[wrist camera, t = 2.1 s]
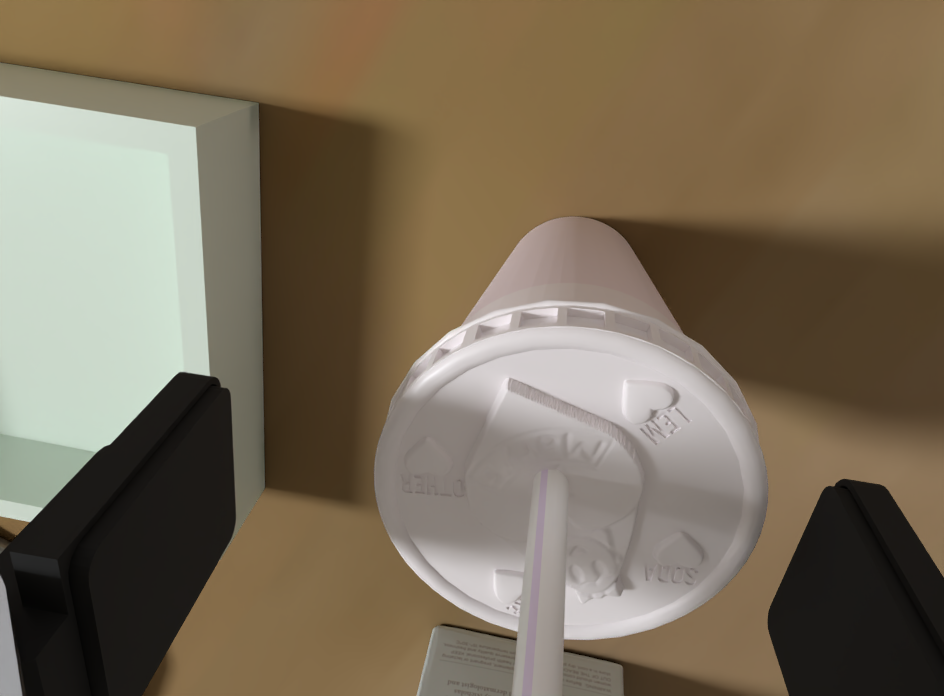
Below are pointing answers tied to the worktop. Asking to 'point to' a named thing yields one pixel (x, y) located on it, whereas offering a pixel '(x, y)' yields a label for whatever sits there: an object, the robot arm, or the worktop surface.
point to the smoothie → (571, 456)
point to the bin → (122, 270)
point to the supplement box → (502, 668)
